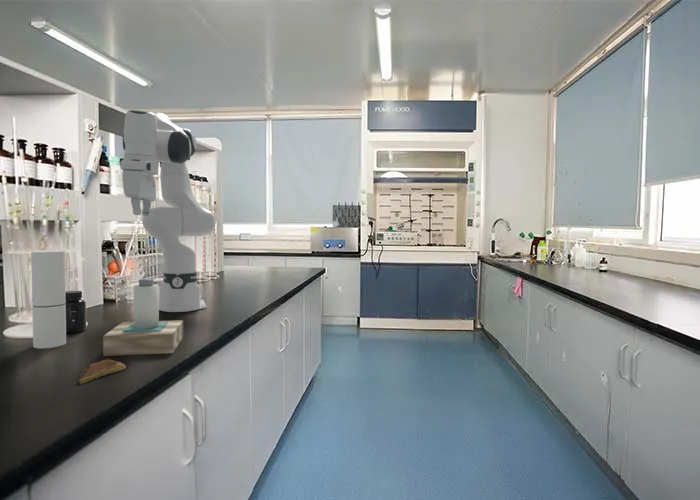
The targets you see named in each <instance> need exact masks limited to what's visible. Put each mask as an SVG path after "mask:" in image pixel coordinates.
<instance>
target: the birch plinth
mask: <svg viewBox="0 0 700 500" xmlns="http://www.w3.org/2000/svg"><path fill="white" fill-rule="evenodd" d="M183 338H184V320H183V319H182V320H159V326H158V327H155V328H150V329H136V328H134V321H122V322H121V323H119V324H118V325H117V326H115V327H113V328H112V329H110V331H108V332H107V333H105V334H104V335H103V336H102V340H103V341H102V344H103V347H102V349H103V351H102V352H103V357H109V356H111V357H112V356H131V355H133V356H135V355H154V354H155V355H159V354H161V355H162V354H174V352H175V350H176V349H177V348H178V346H179V344H180V343H181V341H182V340H183Z"/></svg>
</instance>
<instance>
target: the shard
mask: <svg viewBox="0 0 700 500" xmlns="http://www.w3.org/2000/svg"><path fill="white" fill-rule="evenodd" d="M126 366H127V365H125V364H124V363H122V361H121V362H120V361H117V360H114V359H109V358H108V359H107V358H106V359H104V360H101V361H97V362H93V363H91V364H87V365H86V366H85V368H84V369H83V370H82V372H81V373H80V376H79V378H78V380H77V382H79V385H82V384H85V383H88V382H90V381H93V380H95V378H96V379H98V377H99V378H101V376H102V377H103V376H107V374H108V375H110V374H114V373H116V372H119V371H123V370H126V368H127V367H126Z"/></svg>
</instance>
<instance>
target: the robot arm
mask: <svg viewBox="0 0 700 500" xmlns="http://www.w3.org/2000/svg"><path fill="white" fill-rule="evenodd" d="M123 123H124V125H123V133H122V148H123V151H124V153H123V159H122V160H120V163H119V165H120V166H119V167H120V170H122V186H123V194H124V196H125V198H129V199H130V204H131V207H132V214H133V215H134V216H142V226H143V229H144V230H145V232H146V233H148V234H149V235H150V236H151V237H153V238H154V239H155V240H156V241H157V242H158V244H159V245H160V247H161V249H162V253H163V259H164V272H163V276H162V278H163V284H162V285H160V286H159V311H162V312H167V313H182V312H183V313H185V312H192V311H197V310H202V309H203V310H204V309H207V305H206V303H205V300H204V299H203V296H202V295H201V287H200V285H198V282H197V281H198V272H197V271H196V270H197V268H196V265H197V262H196V261H197V260H196V259H197V255H196V252H195V251H194V250H193V248H191V247H189V246H187V245H185V244H183V243H181V242H180V240H179V238H180V237H203V236H208V235H211V233H213V231H214V230H215V227H216V219H215V216H214V214H213V213H212V212H211V211H210V210H209V209H207V208H205V207H203V206H202V205H201V204H200V203H199V202H198V201H197V199H196V198H195V196H194V194H193V190H192V185H191V178H190V177H191V176H190V173H189V169H188V167H187V165H186V162H187V161H190V160H191V157H193V155H195V152H196V151H197V149H196V148H197V140H196V139H197V138H196V137H195V134H193V131H191V129H188V128H181V127H179V126H178V125H176V124H174V123H173V122H172V119H170V117H168V115H166V114H165V113H162V112H158V111H157V112H155V111H154V112H150V111H145V110H135V109H134V110H133V109H132V110H131V109H130V110H128V111H126V112H125V118H124V122H123ZM159 162H161V165H160V172H159ZM159 173H160V176H159V179H160V188H161V189H160V190H161V191H160V192H161V197H162V200H163V201H164V202H165V204H166V205H168V206H161V207H153V208H152V207H151V206H152V202H156V200H157V185H156V178H155V176H156V175H157V176H158V175H159ZM141 202H142V208H141Z"/></svg>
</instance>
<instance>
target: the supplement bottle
mask: <svg viewBox="0 0 700 500" xmlns="http://www.w3.org/2000/svg"><path fill="white" fill-rule="evenodd" d="M65 298H66V335H74V334H80V333H83V332H85V331H86V330H87V302H86V300H84V299H82V298H83V291H82V290H67V291H66V290H65Z"/></svg>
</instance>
